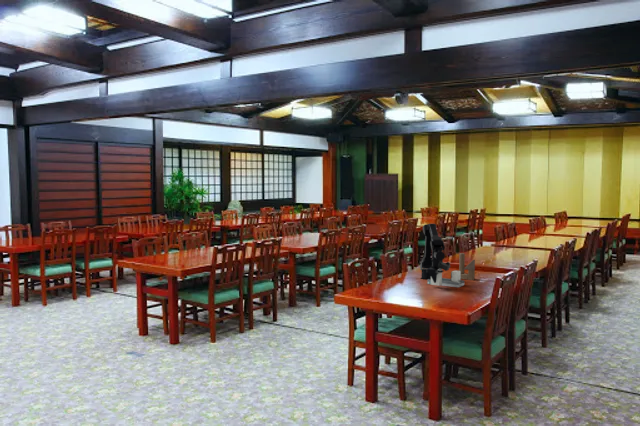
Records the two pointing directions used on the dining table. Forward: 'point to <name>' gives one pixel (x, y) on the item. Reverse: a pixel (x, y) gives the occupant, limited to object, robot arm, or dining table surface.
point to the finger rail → (451, 280)
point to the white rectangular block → (438, 280)
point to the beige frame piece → (469, 267)
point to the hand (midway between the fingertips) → (436, 282)
